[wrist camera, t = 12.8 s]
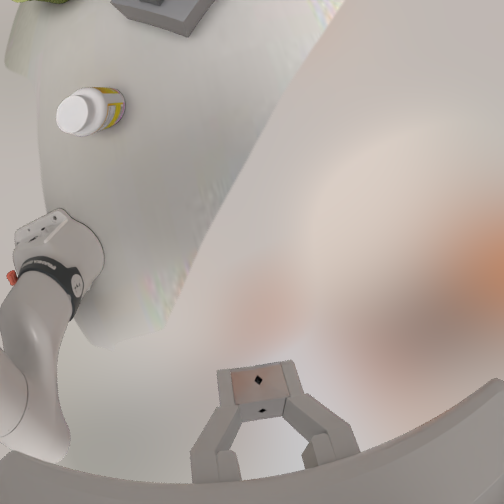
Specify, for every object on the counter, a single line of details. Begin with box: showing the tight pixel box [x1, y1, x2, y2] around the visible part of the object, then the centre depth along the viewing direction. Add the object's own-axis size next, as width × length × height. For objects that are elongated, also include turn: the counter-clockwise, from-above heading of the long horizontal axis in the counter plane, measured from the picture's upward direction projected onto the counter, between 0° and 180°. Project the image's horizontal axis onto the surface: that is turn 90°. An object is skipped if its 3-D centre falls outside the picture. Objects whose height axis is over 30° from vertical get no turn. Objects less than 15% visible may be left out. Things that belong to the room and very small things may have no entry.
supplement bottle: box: [56, 87, 125, 137], centre depth 28 cm, size 7×7×13 cm
